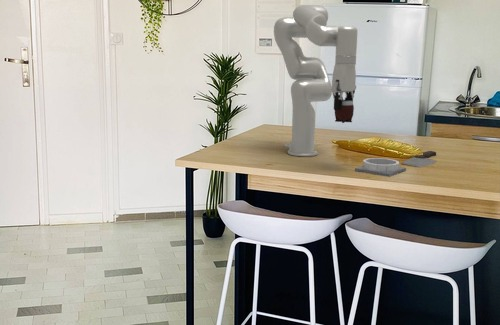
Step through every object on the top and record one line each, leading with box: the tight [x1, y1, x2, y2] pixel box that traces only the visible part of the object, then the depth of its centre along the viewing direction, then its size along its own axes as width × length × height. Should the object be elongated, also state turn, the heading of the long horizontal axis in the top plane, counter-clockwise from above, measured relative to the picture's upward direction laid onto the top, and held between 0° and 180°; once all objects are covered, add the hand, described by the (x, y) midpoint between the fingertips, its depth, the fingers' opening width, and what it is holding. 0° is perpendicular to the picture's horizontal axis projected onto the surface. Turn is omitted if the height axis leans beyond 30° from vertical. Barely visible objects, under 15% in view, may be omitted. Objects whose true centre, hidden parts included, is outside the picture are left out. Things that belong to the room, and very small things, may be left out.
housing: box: [354, 157, 407, 178], centre depth 225 cm, size 14×14×4 cm
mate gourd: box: [334, 96, 355, 124], centre depth 224 cm, size 8×8×15 cm
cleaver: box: [401, 150, 437, 168], centre depth 245 cm, size 29×10×2 cm, turn 146°
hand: (343, 108), depth 224 cm, fingers closed on mate gourd, 7 cm apart
